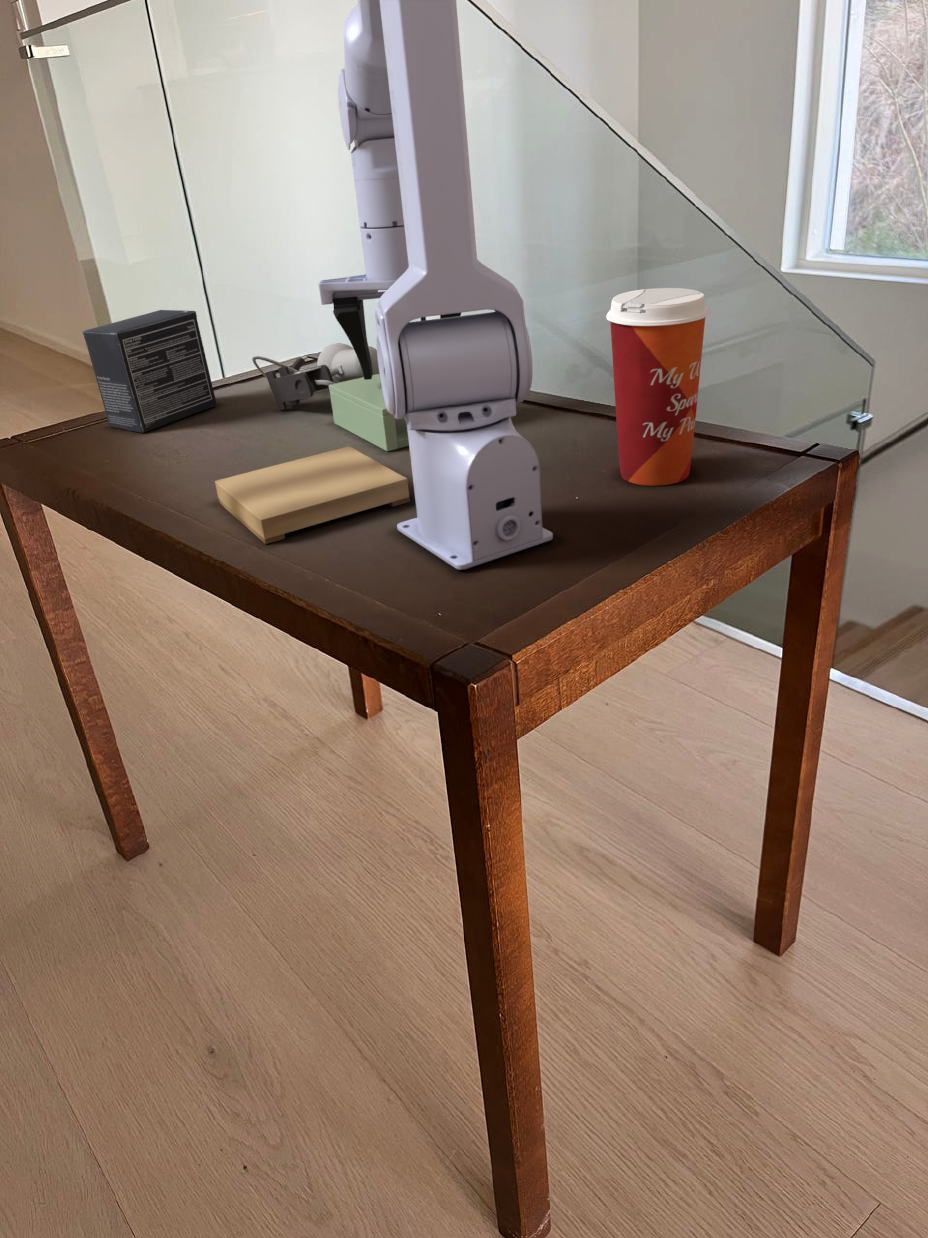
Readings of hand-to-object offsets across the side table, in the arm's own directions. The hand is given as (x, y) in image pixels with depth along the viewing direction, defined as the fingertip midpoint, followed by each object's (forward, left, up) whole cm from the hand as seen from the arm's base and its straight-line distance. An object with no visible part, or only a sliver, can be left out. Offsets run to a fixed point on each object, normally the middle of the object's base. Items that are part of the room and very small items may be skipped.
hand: (407, 373), depth 93 cm
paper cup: (-27, -8, -5) cm, 29 cm away
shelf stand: (0, 0, -5) cm, 5 cm away
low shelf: (-13, +16, -5) cm, 22 cm away
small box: (+23, +19, -5) cm, 30 cm away
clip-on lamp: (+18, +3, -5) cm, 19 cm away
